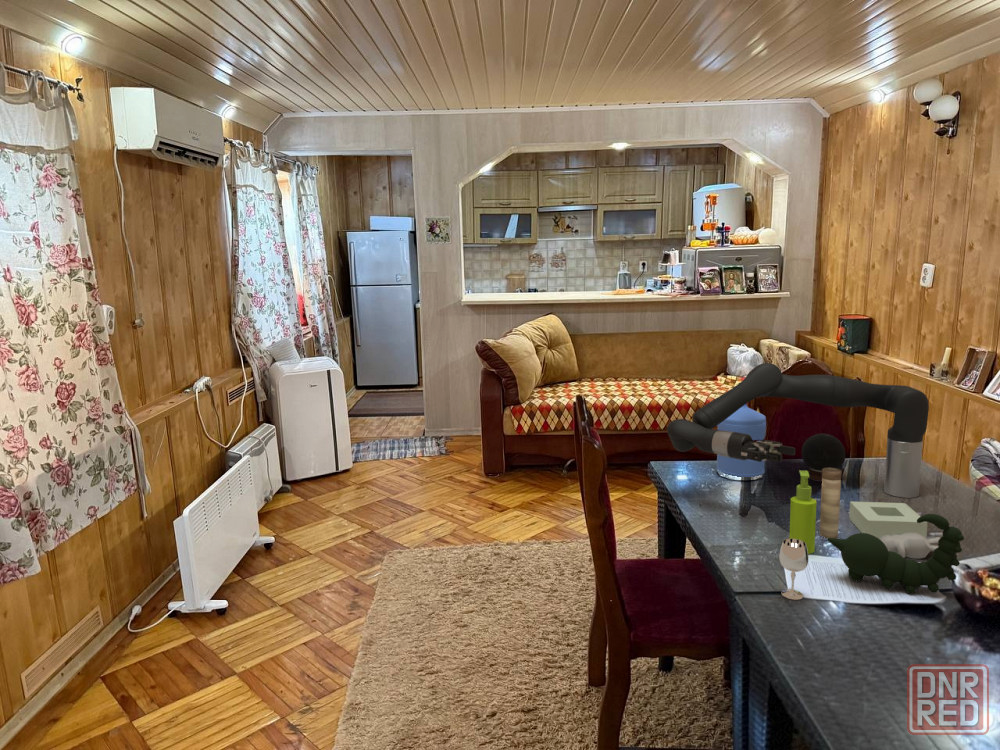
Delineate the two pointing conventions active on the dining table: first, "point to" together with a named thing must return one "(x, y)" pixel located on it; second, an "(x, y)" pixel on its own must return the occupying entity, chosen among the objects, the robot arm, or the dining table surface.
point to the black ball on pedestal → (822, 454)
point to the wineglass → (793, 563)
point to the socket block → (885, 519)
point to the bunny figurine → (910, 544)
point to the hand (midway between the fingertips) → (788, 455)
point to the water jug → (746, 424)
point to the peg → (830, 502)
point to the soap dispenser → (803, 514)
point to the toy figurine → (901, 558)
